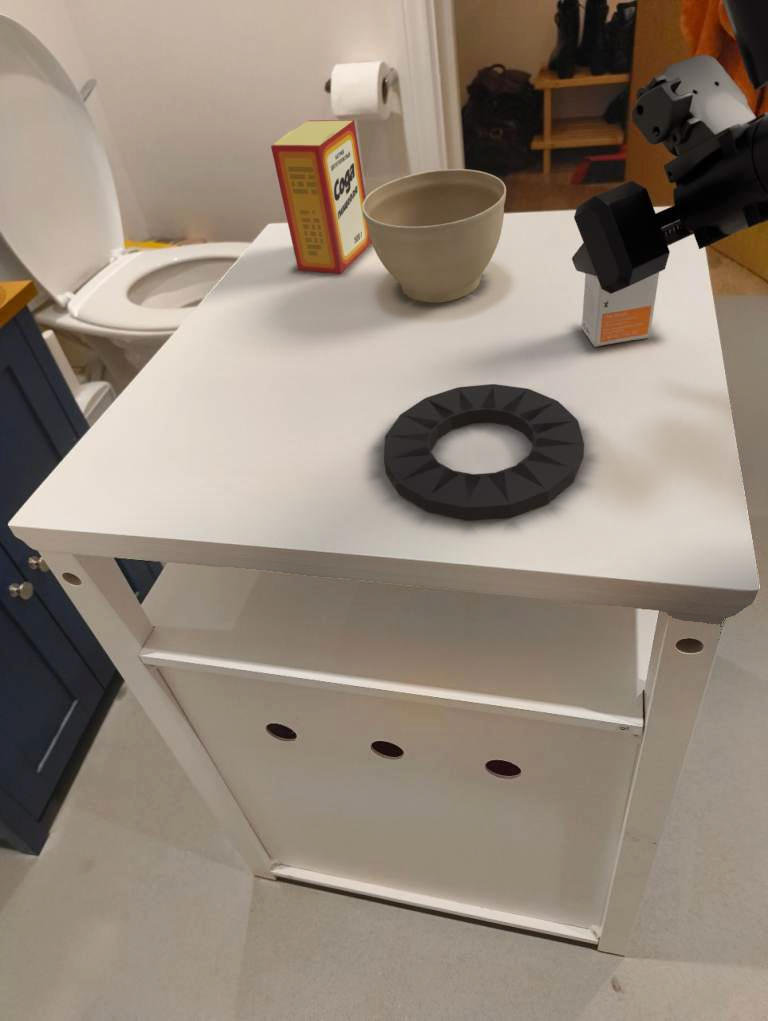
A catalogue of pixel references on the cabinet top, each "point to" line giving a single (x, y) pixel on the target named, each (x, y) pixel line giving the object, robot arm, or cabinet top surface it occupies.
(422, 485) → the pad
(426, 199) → the planter bowl
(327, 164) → the baking soda box
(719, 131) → the robot arm
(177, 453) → the cabinet top surface
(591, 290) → the cosmetic box
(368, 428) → the cabinet top surface
